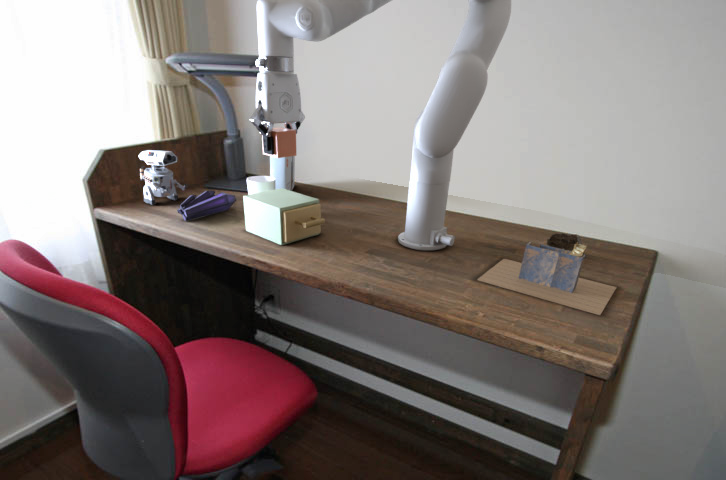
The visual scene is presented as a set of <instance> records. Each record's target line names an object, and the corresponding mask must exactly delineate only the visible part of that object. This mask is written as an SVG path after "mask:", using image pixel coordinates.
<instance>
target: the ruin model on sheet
mask: <svg viewBox="0 0 726 480" xmlns="http://www.w3.org/2000/svg"><path fill="white" fill-rule="evenodd" d="M577 243H578V242H577ZM587 246H588V244H582V245H581V244H575V246H574V249H573V251H568V250H563V249H559V248H555V247H551V246H548V245H547V244H543V243H541V244H539V246H535V245H532V241H529V242H528V243H527V244H525V249H524V253H523V257H522V261H521V262H519V261H517V260H516V261H515V260H511V259H508V258H502V259H501V260H500V261H499V262H497V263H496V264H494V266H493V267H491V268H489V269H488V270H487V271H486V272H485V273H484V274H482V275H481V276H479V277H478V278H476V281H478V282H483V283H485V284H489V285H492V286H496V287H500V288H504V289H507V290H511V291H514V292H518V293H520V294H523V295H526V296H527V295H528V296H531V297H535V298H539V299H542V300H545V301H549V302H552V303H555V304H559V305H563V306H566V307H569V308H573V309H576V310H580V311H584V312H588V313H590V314H594V315H597V316H601V315H602V313H603V311H604V310H605V308H606V307H607V305H608V303H609V301H610V300H611V298H612V297H613V295H614V293H615V291H616V289H617V288H618V287H617V286H615V285H614V286H613V285H610V284H606V283H601V282H599V281H594V280H589V279H586V278H583V277H580V275H581V271H582V269H583V266H584V261H585V258H586V256H587V255H586V254H585V251H586V249H587Z"/></svg>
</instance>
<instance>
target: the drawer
mask: <svg viewBox="0 0 726 480" xmlns="http://www.w3.org/2000/svg"><path fill="white" fill-rule="evenodd" d="M282 218H283V241H284V242H286V243H287V242H290V241H294V240H297V239H301V238H304V237H307V236H311V235H314V234H318V233H319V234H321V233H322V225H324V224H326V223H325V222H326V220H325V218H324V217H322V204H320V203H319V204H314V205H312V204H311V205H306V206H302V207H298V208H294V209H289V210H285V211H283V212H282Z"/></svg>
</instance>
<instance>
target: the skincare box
mask: <svg viewBox="0 0 726 480" xmlns="http://www.w3.org/2000/svg"><path fill="white" fill-rule="evenodd" d="M295 159H296V156H290V157H283V158H276V157H272V156H269V176H270V177H274V178H275V185H276V189H281V188H283V189H286V190H290V191H293V189H294V188H295V167H296V166H295V163H296V162H295Z"/></svg>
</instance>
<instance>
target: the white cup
mask: <svg viewBox="0 0 726 480" xmlns="http://www.w3.org/2000/svg"><path fill="white" fill-rule="evenodd" d="M246 185H247V195H250V194H255V193H260V192H265V191H270V190H275V189H276V185H275V178H274V177H270V175H253V176H248V177H246Z"/></svg>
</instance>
